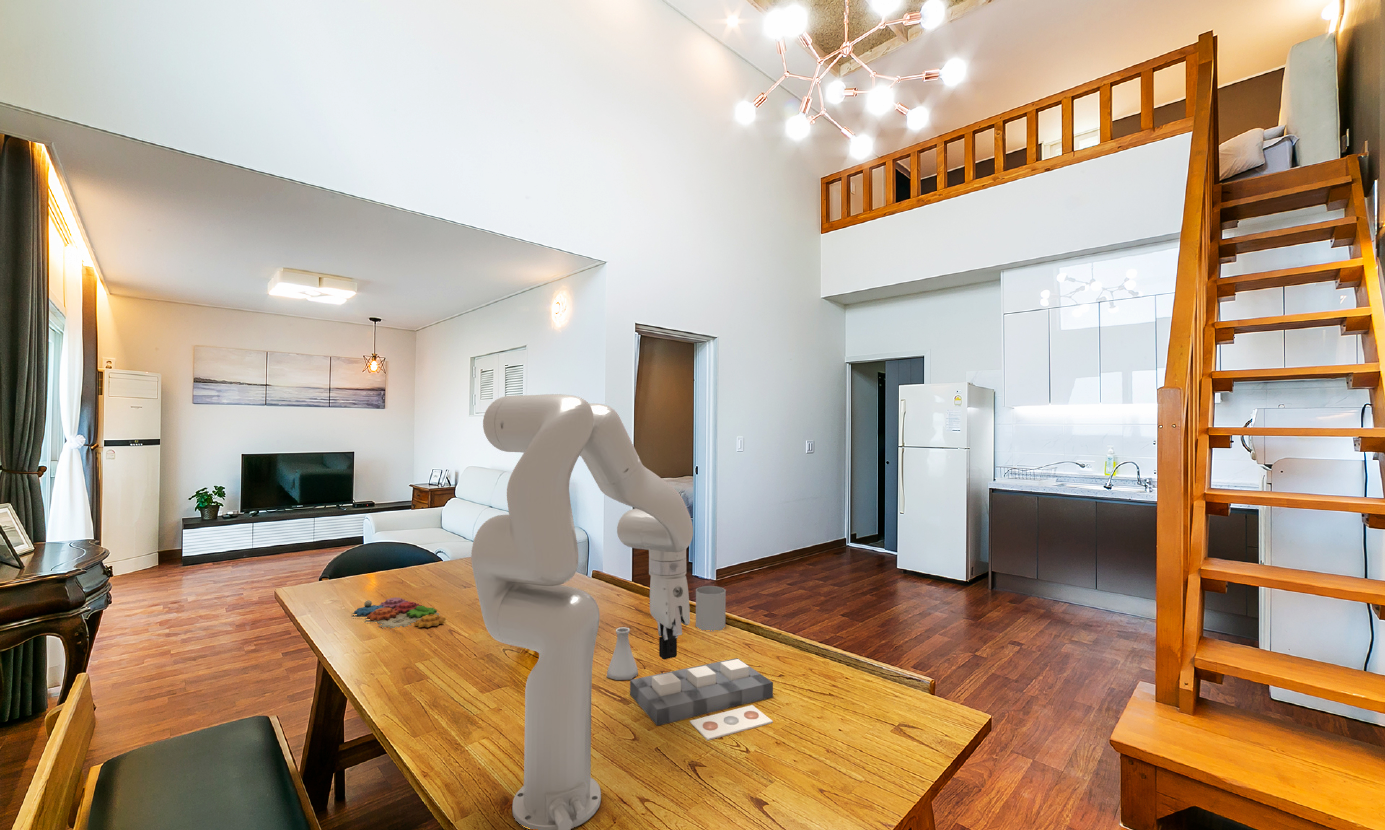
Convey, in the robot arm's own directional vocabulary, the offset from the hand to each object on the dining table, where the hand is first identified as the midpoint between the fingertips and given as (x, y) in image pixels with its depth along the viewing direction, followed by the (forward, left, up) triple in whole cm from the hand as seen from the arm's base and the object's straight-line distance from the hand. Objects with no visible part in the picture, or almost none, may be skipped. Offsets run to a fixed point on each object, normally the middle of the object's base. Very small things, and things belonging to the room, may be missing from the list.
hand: (668, 656), depth 116 cm
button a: (0, -15, -8) cm, 17 cm away
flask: (+17, +4, -9) cm, 19 cm away
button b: (0, -7, -8) cm, 11 cm away
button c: (0, +1, -8) cm, 8 cm away
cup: (+36, -29, -9) cm, 47 cm away
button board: (0, -7, -9) cm, 12 cm away
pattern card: (-12, -7, -9) cm, 17 cm away
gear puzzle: (+80, +47, -10) cm, 94 cm away
